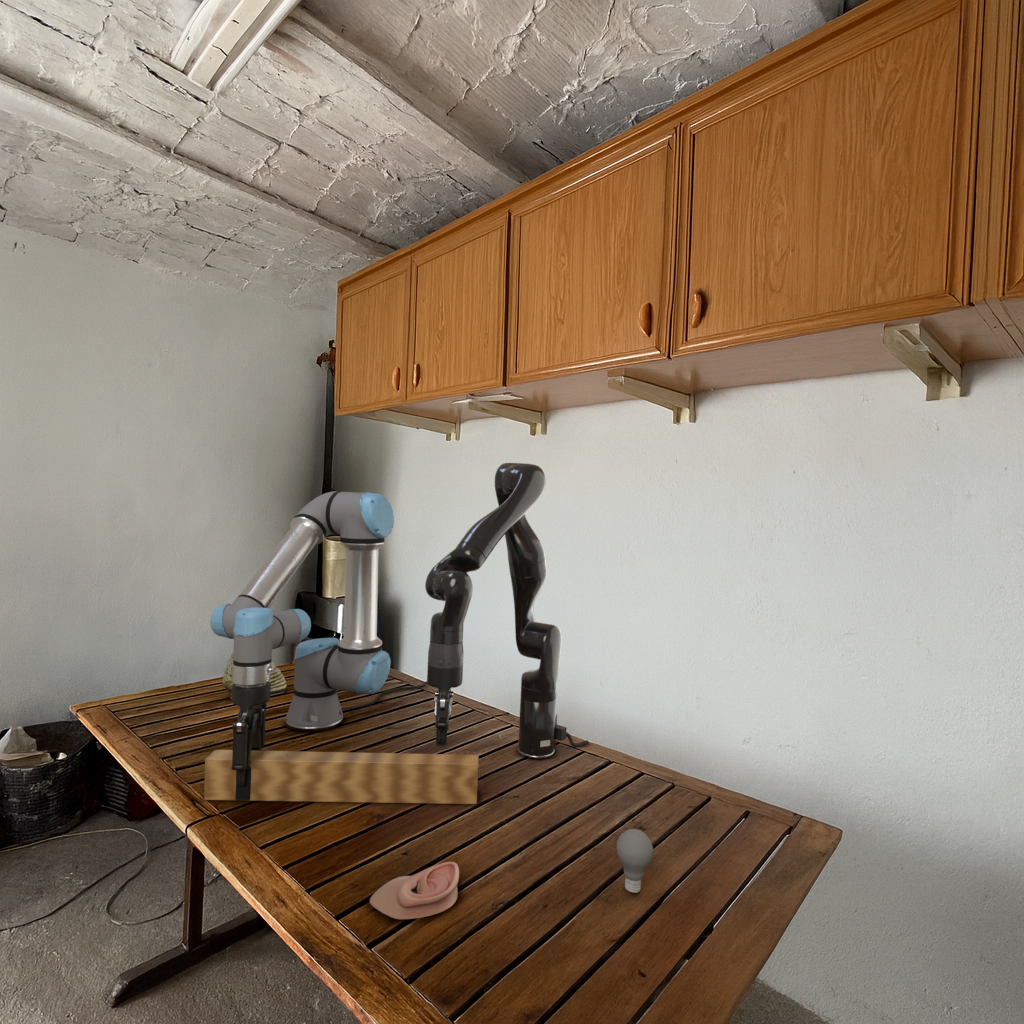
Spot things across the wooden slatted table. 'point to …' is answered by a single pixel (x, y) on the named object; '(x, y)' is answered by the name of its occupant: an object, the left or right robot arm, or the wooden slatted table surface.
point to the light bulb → (634, 857)
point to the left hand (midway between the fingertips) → (247, 792)
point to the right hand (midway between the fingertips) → (442, 737)
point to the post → (347, 777)
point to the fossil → (276, 681)
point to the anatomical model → (419, 893)
